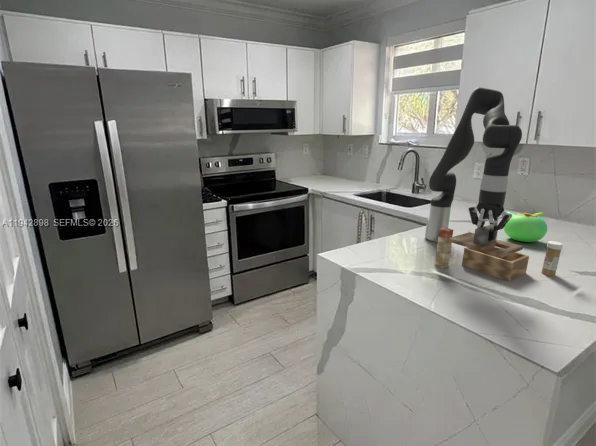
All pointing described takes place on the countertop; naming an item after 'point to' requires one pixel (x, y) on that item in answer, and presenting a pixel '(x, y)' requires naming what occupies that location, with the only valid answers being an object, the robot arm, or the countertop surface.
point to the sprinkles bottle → (551, 258)
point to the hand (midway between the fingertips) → (485, 239)
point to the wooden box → (496, 263)
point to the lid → (485, 242)
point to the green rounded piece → (526, 227)
